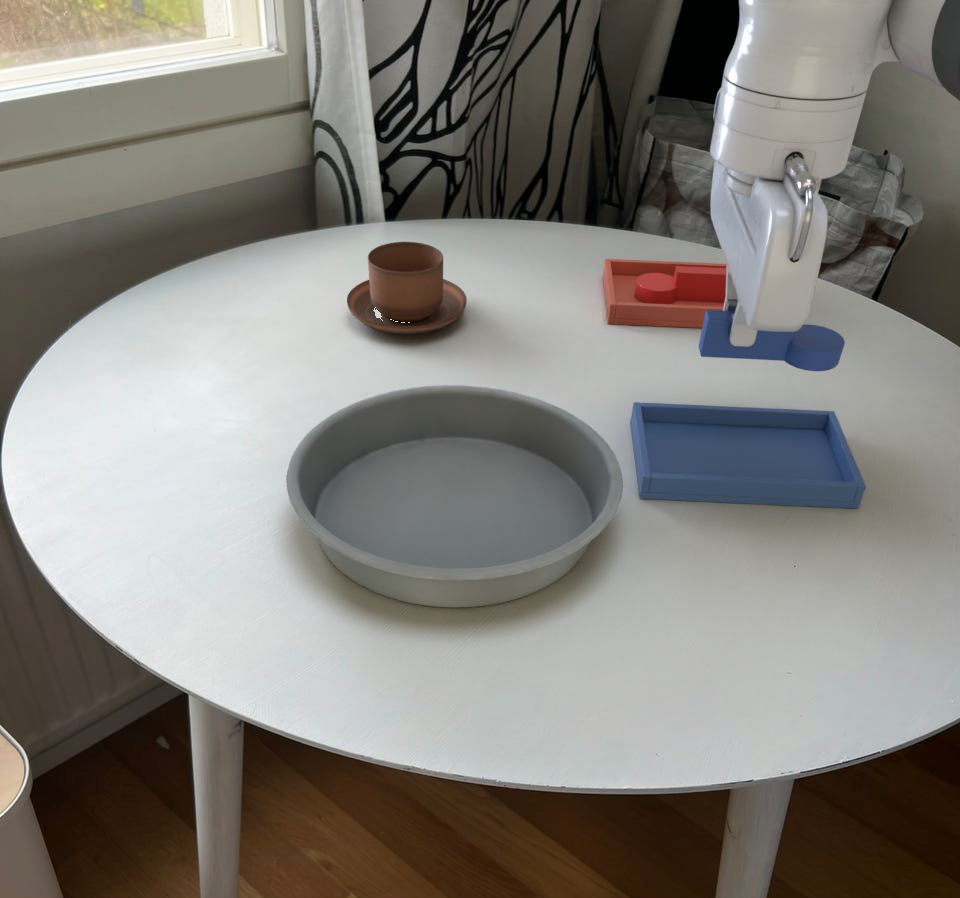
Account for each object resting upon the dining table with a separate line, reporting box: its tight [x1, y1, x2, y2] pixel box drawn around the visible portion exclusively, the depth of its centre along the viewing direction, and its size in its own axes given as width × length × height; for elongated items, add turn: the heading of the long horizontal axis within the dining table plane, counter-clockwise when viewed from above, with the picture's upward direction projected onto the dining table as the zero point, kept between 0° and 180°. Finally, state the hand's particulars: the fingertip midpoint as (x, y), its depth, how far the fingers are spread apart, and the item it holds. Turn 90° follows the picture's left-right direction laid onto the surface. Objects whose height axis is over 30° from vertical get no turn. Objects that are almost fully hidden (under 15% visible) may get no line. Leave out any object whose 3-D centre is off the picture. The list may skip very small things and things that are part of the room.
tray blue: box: [630, 401, 867, 510], centre depth 78 cm, size 17×11×2 cm, turn 87°
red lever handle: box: [635, 266, 726, 304], centre depth 99 cm, size 10×4×3 cm, turn 87°
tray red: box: [602, 258, 727, 329], centre depth 100 cm, size 17×11×2 cm, turn 87°
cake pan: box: [285, 384, 624, 608], centre depth 71 cm, size 25×25×4 cm
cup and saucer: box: [346, 241, 468, 335], centre depth 94 cm, size 12×12×6 cm
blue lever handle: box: [698, 310, 846, 372], centre depth 71 cm, size 10×4×3 cm, turn 87°
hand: (736, 332), depth 71 cm, fingers closed on blue lever handle
